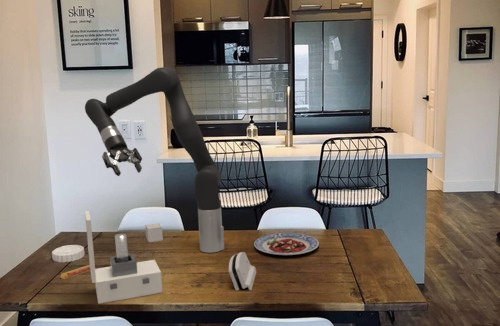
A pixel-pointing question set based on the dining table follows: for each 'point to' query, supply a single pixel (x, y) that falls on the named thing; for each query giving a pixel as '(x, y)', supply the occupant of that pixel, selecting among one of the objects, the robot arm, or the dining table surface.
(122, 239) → the rod
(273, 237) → the ceramic plate
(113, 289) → the white fixture base
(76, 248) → the mooncake
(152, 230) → the grey cube
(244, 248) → the dining table surface
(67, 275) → the chocolate bar
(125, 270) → the socket
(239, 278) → the white rounded block
